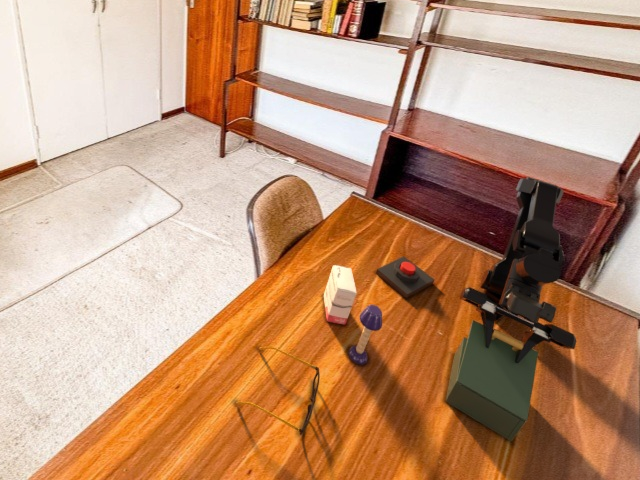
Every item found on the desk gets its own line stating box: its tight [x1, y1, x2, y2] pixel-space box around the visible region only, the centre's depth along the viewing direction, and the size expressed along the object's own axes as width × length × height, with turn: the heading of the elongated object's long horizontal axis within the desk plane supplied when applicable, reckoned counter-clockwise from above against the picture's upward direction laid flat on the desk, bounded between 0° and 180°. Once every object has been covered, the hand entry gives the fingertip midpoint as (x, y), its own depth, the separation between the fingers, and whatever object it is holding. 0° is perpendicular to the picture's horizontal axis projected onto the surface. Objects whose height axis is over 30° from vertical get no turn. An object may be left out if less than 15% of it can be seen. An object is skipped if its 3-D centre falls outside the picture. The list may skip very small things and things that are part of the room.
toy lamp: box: [348, 304, 383, 366], centre depth 90 cm, size 5×5×17 cm
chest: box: [445, 336, 526, 442], centre depth 85 cm, size 14×12×7 cm
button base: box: [375, 256, 435, 299], centre depth 115 cm, size 12×10×4 cm
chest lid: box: [456, 319, 539, 423], centre depth 81 cm, size 14×12×4 cm
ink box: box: [323, 264, 358, 325], centre depth 103 cm, size 9×5×12 cm, turn 168°
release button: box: [400, 262, 416, 275], centre depth 114 cm, size 4×4×2 cm
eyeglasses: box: [235, 346, 321, 436], centre depth 85 cm, size 14×14×4 cm
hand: (501, 355), depth 83 cm, fingers closed on chest lid, 5 cm apart
